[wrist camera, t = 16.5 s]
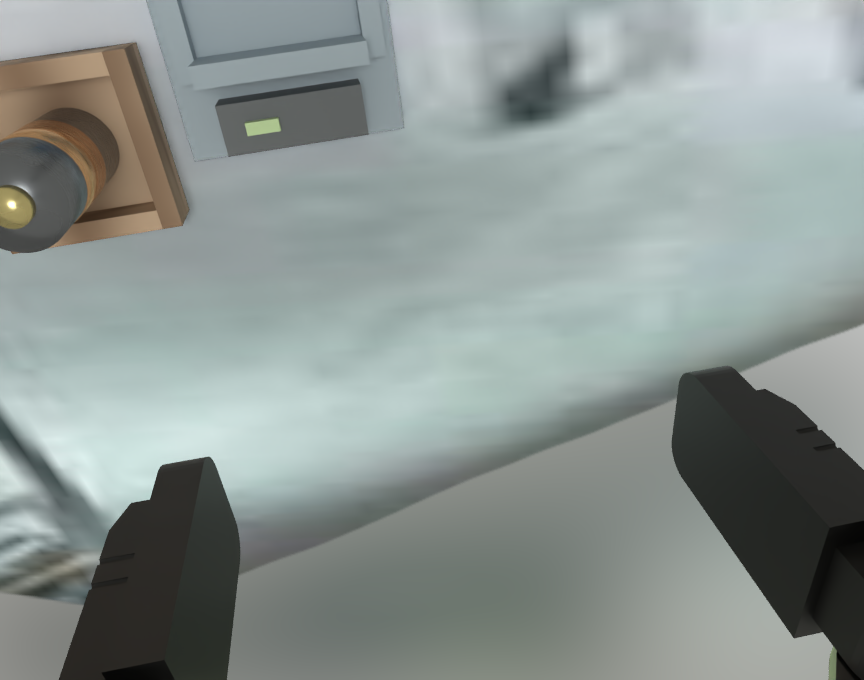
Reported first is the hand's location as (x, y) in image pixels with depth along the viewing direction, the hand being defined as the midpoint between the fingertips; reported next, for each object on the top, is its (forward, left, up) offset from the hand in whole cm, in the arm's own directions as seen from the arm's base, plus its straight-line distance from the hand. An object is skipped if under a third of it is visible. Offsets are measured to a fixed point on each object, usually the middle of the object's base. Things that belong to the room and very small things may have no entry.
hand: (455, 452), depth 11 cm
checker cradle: (+3, -5, -28) cm, 29 cm away
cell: (+14, 0, -27) cm, 31 cm away
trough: (+14, -1, -28) cm, 31 cm away
